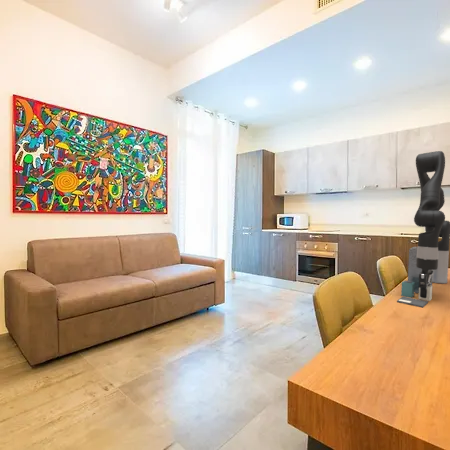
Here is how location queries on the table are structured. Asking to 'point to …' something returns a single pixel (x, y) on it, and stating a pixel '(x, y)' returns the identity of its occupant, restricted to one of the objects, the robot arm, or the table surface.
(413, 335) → the table surface
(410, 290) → the block
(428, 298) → the block
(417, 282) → the unit
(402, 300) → the pad
